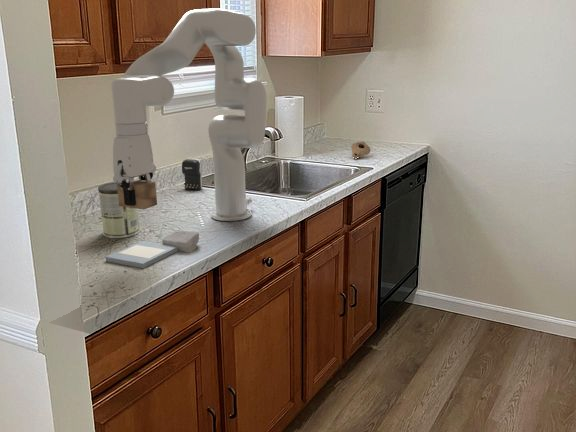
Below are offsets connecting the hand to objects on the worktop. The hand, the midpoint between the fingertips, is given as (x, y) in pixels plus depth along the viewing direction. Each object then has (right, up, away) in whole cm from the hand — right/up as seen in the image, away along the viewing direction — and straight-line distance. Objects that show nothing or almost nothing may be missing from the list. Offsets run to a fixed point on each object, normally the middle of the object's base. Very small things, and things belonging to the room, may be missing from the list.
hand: (137, 201), depth 151 cm
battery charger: (+2, +6, +75) cm, 75 cm away
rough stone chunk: (+9, -12, +11) cm, 19 cm away
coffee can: (-11, -9, +24) cm, 27 cm away
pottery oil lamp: (+71, +23, +131) cm, 151 cm away
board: (0, -14, +4) cm, 15 cm away
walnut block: (0, -1, 0) cm, 1 cm away
